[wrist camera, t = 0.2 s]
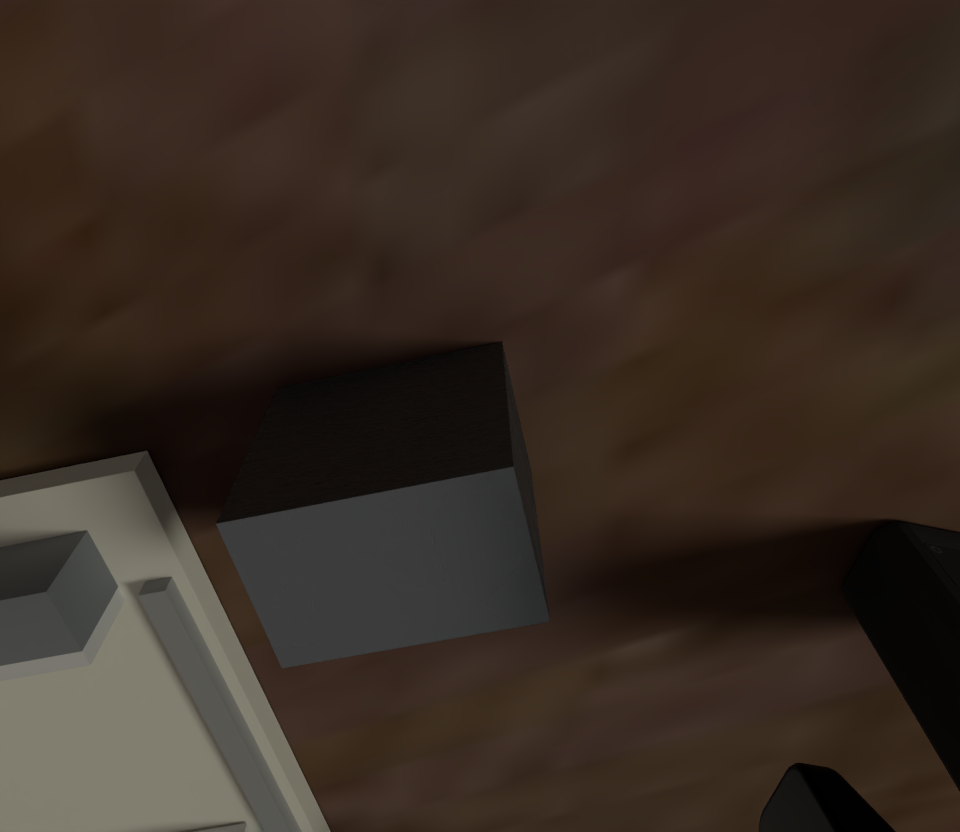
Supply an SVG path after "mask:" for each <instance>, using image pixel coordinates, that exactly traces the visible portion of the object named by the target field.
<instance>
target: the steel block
mask: <svg viewBox="0 0 960 832" xmlns="http://www.w3.org/2000/svg"><path fill="white" fill-rule="evenodd" d="M216 525H217V527H218V530H219V532H220V534H221V536H222V538H223V540H224V543H225V545H226V547H227V549H228V551H229V554H230V556H231V558H232V560H233V562H234V564H235V567H236V569H237V571H238V573H239V575H240V578H241V580H242V582H243V584H244V586H245V588H246V591H247V593H248V595H249V597H250V599H251V602H252V604H253V606H254V608H255V610H256V612H257V615H258V617H259V619H260V621H261V623H262V626H263V628H264V630H265V632H266V634H267V636H268V639H269V641H270V643H271V645H272V647H273V650H274V652H275V654H276V656H277V658H278V660H279V663H280V665H281V667H282V668H286V667H292V666H297V665H303V664H309V663H314V662H320V661H326V660H332V659H337V658H343V657H349V656H355V655H360V654H366V653H372V652H378V651H383V650H389V649H395V648H401V647H406V646H412V645H418V644H424V643H429V642H435V641H441V640H447V639H452V638H458V637H464V636H469V635H475V634H481V633H487V632H492V631H498V630H504V629H510V628H515V627H521V626H527V625H533V624H538V623H544V622H550V617H549V609H548V601H547V593H546V585H545V577H544V569H543V561H542V553H541V545H540V537H539V529H538V521H537V513H536V505H535V497H534V489H533V481H532V473H531V468H530V463H529V459H528V454H527V450H526V445H525V441H524V437H523V432H522V428H521V423H520V419H519V414H518V410H517V405H516V401H515V396H514V392H513V388H512V383H511V379H510V374H509V370H508V365H507V361H506V356H505V352H504V348H503V343H502V342H498V343H493V344H488V345H483V346H479V347H474V348H469V349H464V350H459V351H454V352H450V353H445V354H440V355H435V356H430V357H426V358H421V359H416V360H411V361H406V362H401V363H397V364H392V365H387V366H382V367H377V368H372V369H368V370H363V371H358V372H353V373H348V374H343V375H339V376H334V377H329V378H324V379H319V380H314V381H310V382H305V383H300V384H295V385H290V386H285V387H281V388H277V389H276V391H275V393H274V395H273V398H272V400H271V402H270V404H269V407H268V409H267V411H266V413H265V416H264V418H263V420H262V422H261V424H260V427H259V429H258V431H257V433H256V436H255V438H254V440H253V442H252V445H251V447H250V449H249V451H248V453H247V456H246V458H245V460H244V462H243V465H242V467H241V469H240V471H239V474H238V476H237V478H236V480H235V482H234V485H233V487H232V489H231V491H230V494H229V496H228V498H227V500H226V503H225V505H224V507H223V509H222V511H221V514H220V516H219V518H218V520H217V523H216Z"/></svg>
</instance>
